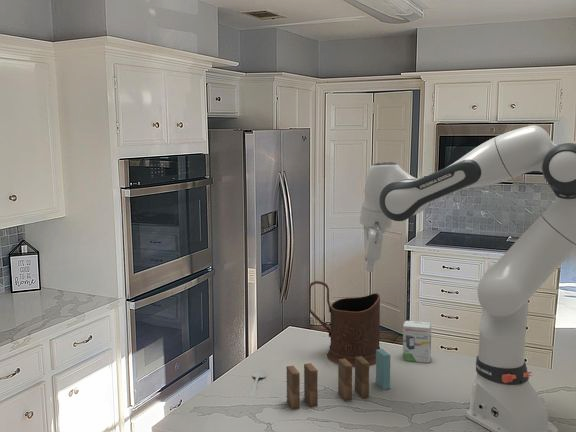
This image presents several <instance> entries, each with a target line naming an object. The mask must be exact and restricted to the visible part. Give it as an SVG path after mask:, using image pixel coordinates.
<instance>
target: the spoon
mask: <svg viewBox="0 0 576 432" xmlns="http://www.w3.org/2000/svg"><path fill="white" fill-rule="evenodd" d="M266 377H267V371H266V370H265V368H263V367H259V368H257V369H256V370H255V371H254V373H253V374H252V378H255V379H254V380H255V381H254V382H253V385H252V388H250V391H249V394H248V396H249V397H250V398H253V397H255V396H256V394H257V384H258V381H259V379H261V378H262V379H263V378H266Z"/></svg>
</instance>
